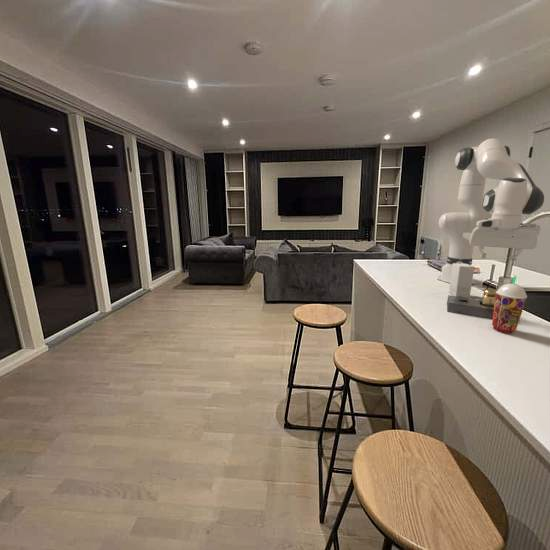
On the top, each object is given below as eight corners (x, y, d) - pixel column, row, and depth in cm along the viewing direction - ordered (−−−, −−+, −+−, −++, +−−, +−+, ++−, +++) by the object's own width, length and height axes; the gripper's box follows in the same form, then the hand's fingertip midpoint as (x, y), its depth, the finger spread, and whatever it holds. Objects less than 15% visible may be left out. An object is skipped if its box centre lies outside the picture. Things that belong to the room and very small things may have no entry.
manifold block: (446, 303, 126) (448, 295, 125) (502, 312, 117) (504, 302, 116) (447, 311, 117) (448, 302, 116) (507, 321, 107) (510, 311, 106)
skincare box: (469, 299, 132) (475, 266, 128) (454, 298, 134) (459, 266, 130) (462, 293, 140) (467, 263, 136) (447, 292, 142) (452, 262, 138)
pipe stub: (479, 310, 118) (483, 288, 116) (492, 312, 116) (497, 289, 113) (480, 314, 114) (485, 291, 112) (494, 316, 112) (499, 292, 109)
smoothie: (510, 337, 95) (524, 280, 90) (483, 328, 102) (494, 274, 97) (523, 332, 98) (536, 277, 93) (496, 323, 106) (507, 272, 100)
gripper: (539, 223, 103) (530, 260, 107) (472, 221, 113) (466, 255, 117) (544, 224, 98) (535, 263, 102) (473, 222, 108) (467, 257, 111)
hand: (497, 258), depth 109 cm, fingers open, 8 cm apart
